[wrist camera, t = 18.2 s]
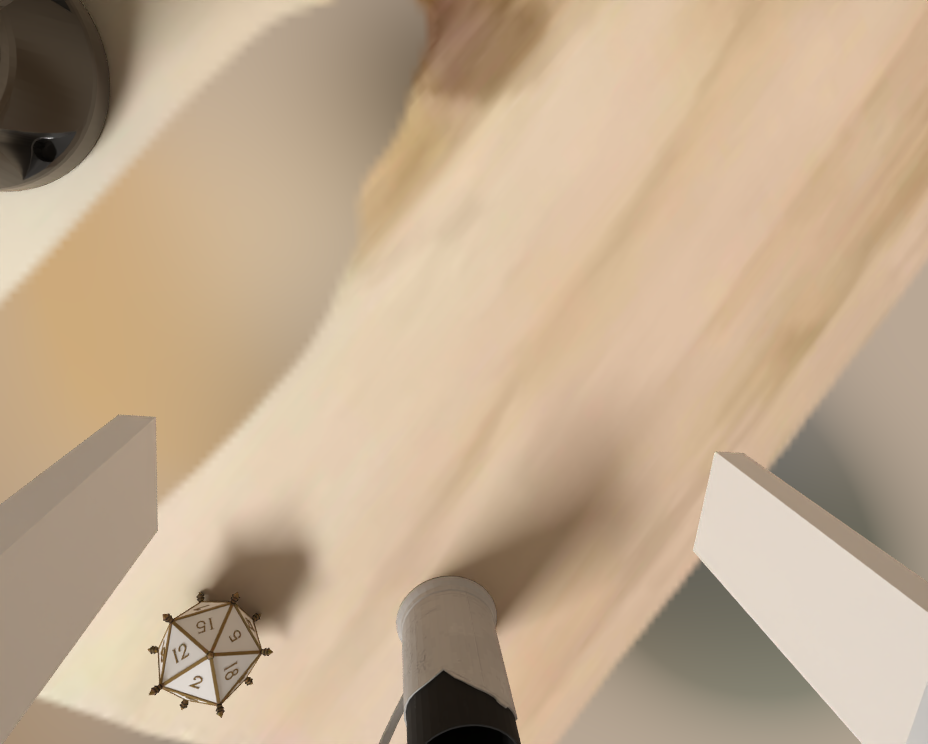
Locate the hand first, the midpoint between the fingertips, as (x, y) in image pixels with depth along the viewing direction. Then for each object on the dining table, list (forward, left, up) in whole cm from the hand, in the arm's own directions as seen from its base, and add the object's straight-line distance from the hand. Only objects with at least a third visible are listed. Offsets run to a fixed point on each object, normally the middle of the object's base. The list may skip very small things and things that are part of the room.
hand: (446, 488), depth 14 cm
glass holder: (+4, -30, -33) cm, 45 cm away
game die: (-13, -28, -33) cm, 45 cm away
